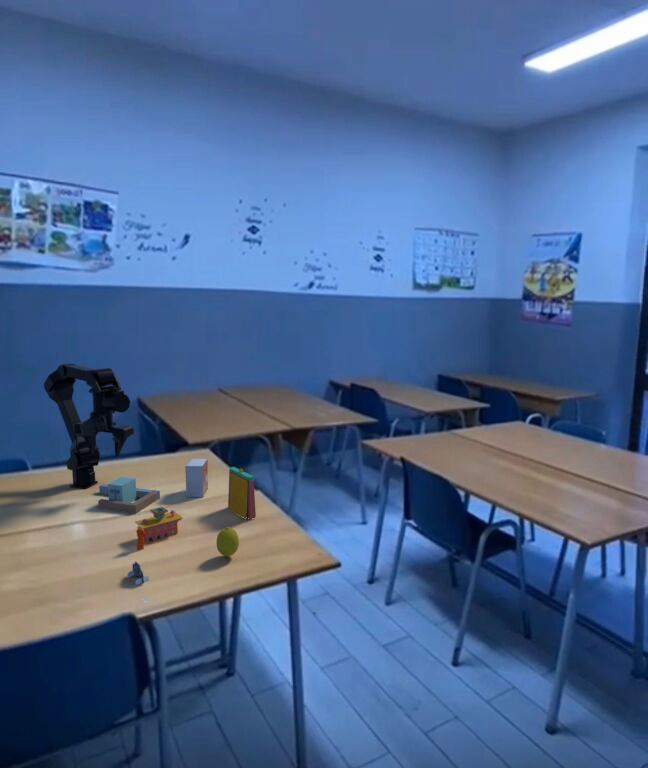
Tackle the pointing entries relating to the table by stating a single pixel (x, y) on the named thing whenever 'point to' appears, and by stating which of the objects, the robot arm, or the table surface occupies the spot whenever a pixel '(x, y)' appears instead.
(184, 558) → the table surface
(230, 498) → the toy shop counter set
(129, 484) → the blue block with grip
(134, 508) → the u-shaped bar frame
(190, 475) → the small box
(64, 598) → the table surface
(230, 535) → the lemon
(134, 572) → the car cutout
